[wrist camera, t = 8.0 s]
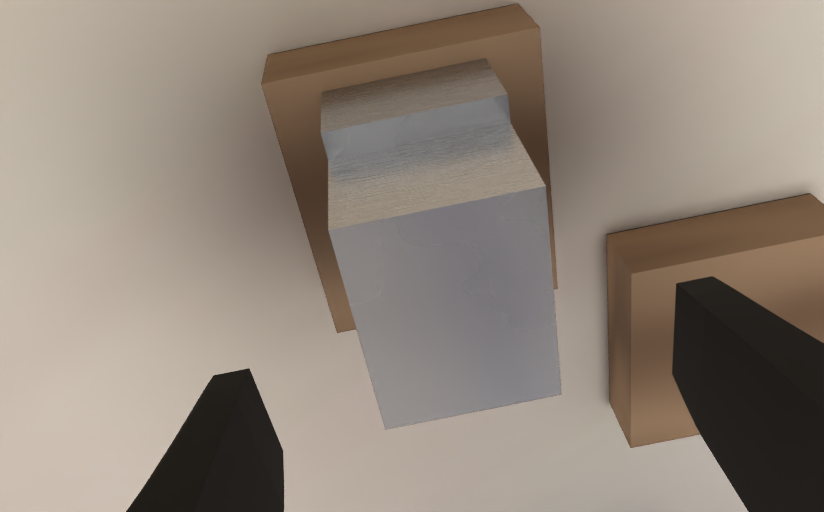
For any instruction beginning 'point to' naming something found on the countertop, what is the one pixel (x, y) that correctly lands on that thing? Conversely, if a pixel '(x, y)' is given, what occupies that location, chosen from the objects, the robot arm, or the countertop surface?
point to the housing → (441, 243)
